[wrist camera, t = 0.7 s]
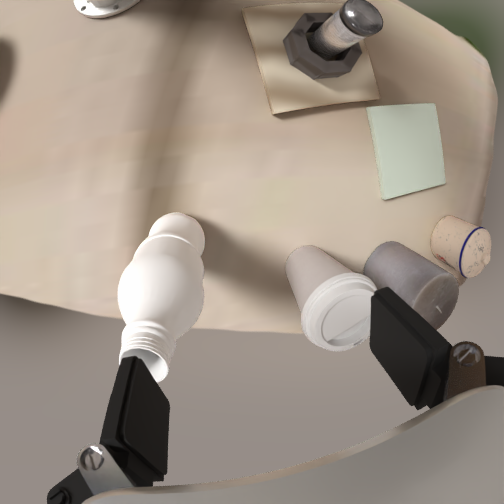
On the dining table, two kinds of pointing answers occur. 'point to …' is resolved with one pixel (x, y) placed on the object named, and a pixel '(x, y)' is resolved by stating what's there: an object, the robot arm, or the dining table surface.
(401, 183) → the sage pad
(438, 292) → the pillar candle
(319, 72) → the block
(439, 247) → the teacup with lid
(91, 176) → the dining table surface
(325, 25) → the steel peg
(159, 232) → the water bottle
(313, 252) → the coffee cup
